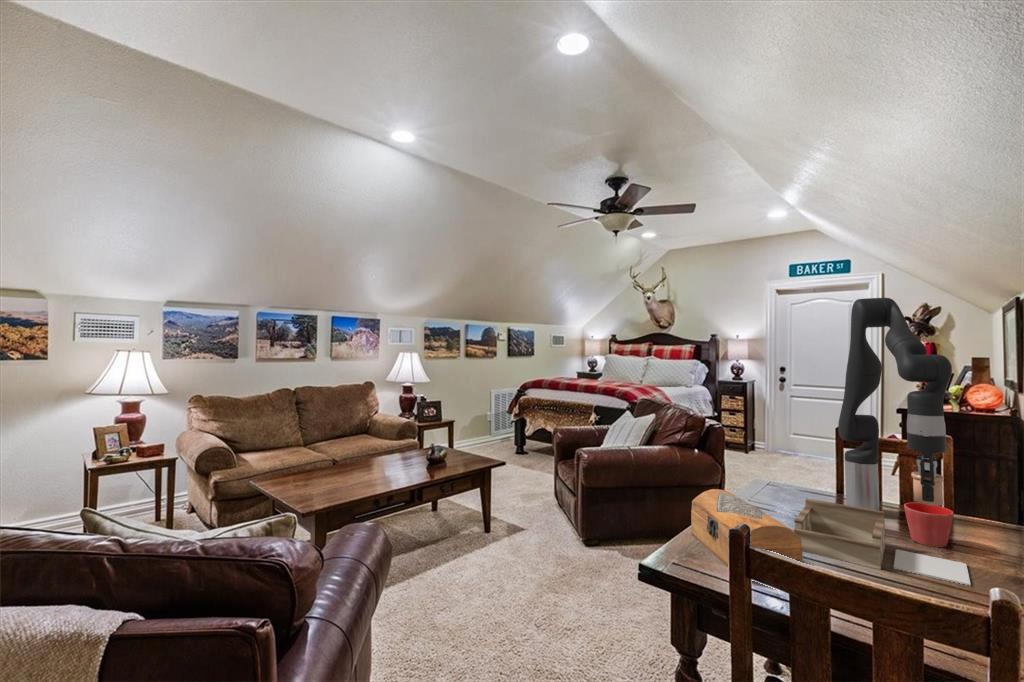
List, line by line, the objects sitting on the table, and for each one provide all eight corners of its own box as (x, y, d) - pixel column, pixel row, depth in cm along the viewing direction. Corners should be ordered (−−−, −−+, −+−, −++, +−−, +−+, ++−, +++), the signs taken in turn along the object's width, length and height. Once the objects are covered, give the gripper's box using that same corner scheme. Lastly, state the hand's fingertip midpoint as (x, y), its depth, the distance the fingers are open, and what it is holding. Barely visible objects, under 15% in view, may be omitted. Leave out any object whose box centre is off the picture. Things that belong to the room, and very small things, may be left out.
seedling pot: (912, 496, 125) (911, 462, 125) (944, 501, 121) (942, 466, 121) (912, 502, 120) (910, 467, 121) (944, 507, 116) (943, 471, 116)
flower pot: (965, 551, 130) (963, 515, 130) (919, 548, 132) (918, 513, 132) (938, 536, 140) (937, 503, 140) (896, 533, 142) (895, 501, 142)
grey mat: (896, 550, 130) (895, 549, 130) (966, 565, 121) (966, 563, 121) (893, 568, 119) (893, 566, 119) (970, 586, 110) (970, 584, 110)
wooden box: (687, 535, 143) (686, 489, 144) (741, 534, 144) (740, 488, 144) (737, 583, 113) (735, 525, 114) (804, 581, 114) (803, 523, 114)
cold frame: (806, 529, 146) (805, 498, 146) (885, 545, 134) (884, 511, 134) (793, 549, 132) (793, 514, 132) (881, 569, 119) (880, 531, 119)
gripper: (907, 427, 129) (909, 489, 128) (906, 434, 118) (908, 502, 118) (944, 430, 124) (946, 494, 124) (946, 437, 113) (949, 508, 113)
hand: (927, 498), depth 121 cm, fingers closed on seedling pot, 5 cm apart
